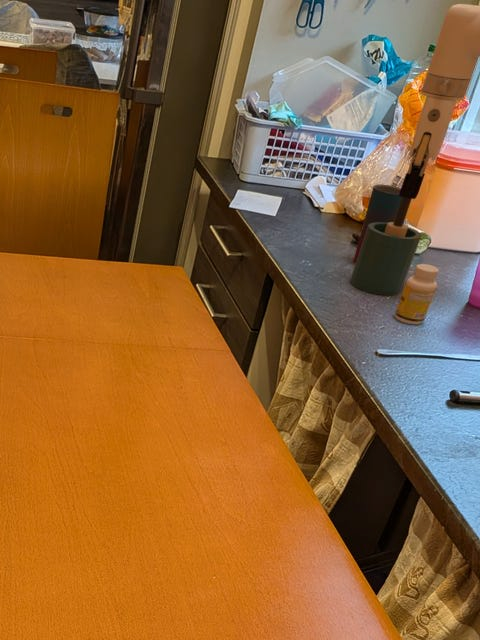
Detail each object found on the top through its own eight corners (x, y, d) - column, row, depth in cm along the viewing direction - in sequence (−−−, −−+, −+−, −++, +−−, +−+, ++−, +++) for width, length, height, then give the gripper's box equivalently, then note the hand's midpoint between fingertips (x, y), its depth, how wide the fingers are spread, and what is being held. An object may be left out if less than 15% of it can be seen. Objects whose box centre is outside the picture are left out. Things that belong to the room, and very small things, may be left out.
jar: (380, 276, 196) (399, 221, 188) (411, 294, 188) (432, 238, 181) (340, 277, 192) (358, 222, 185) (369, 296, 185) (389, 239, 178)
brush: (394, 237, 187) (419, 161, 178) (406, 244, 184) (433, 167, 175) (378, 238, 186) (403, 161, 177) (390, 244, 183) (416, 167, 174)
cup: (350, 265, 199) (374, 190, 190) (348, 255, 205) (372, 182, 195) (382, 270, 199) (408, 196, 189) (379, 260, 204) (405, 187, 194)
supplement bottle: (397, 311, 180) (416, 260, 173) (425, 319, 178) (445, 267, 172) (390, 319, 176) (410, 267, 170) (419, 327, 174) (440, 275, 168)
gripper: (462, 96, 161) (423, 209, 173) (469, 85, 172) (432, 191, 184) (418, 89, 163) (382, 201, 175) (428, 78, 175) (393, 183, 186)
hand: (408, 195), depth 180 cm, fingers closed on brush
